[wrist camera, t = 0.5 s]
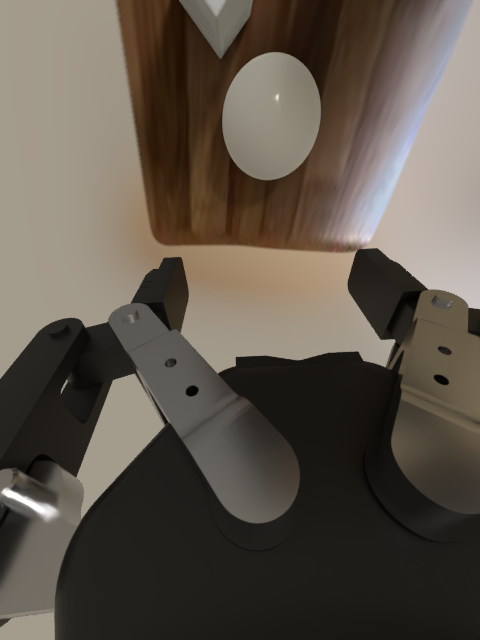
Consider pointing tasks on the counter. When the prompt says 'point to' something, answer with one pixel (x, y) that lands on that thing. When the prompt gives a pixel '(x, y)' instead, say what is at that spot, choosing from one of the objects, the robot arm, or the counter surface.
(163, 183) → the counter surface
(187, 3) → the skincare box
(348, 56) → the counter surface
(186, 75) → the counter surface
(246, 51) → the counter surface
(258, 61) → the stand
